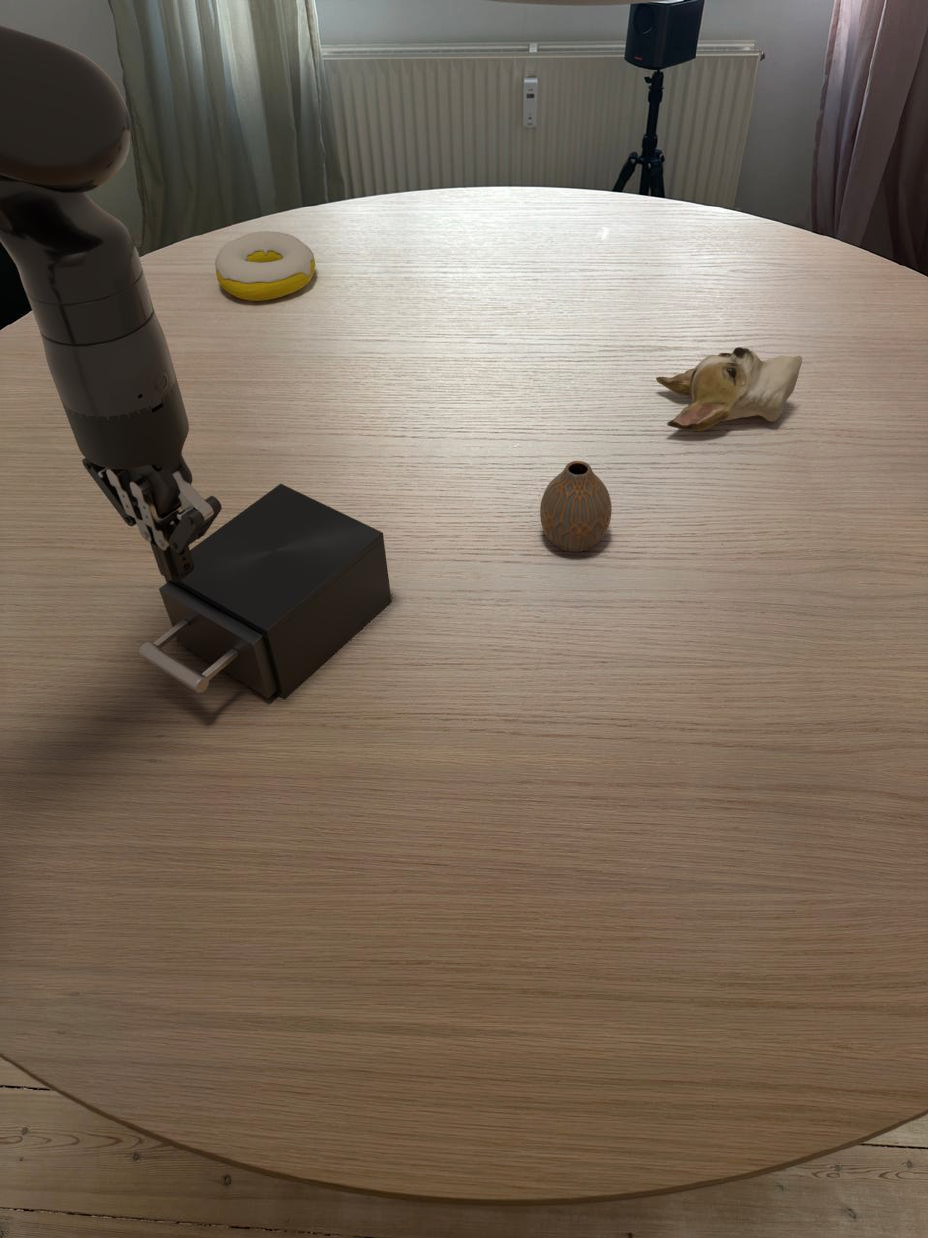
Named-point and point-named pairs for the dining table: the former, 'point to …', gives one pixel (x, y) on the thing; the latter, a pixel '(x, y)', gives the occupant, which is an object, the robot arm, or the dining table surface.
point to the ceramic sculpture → (733, 388)
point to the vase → (575, 508)
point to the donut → (264, 265)
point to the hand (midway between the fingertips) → (178, 573)
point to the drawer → (210, 644)
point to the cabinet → (293, 579)
